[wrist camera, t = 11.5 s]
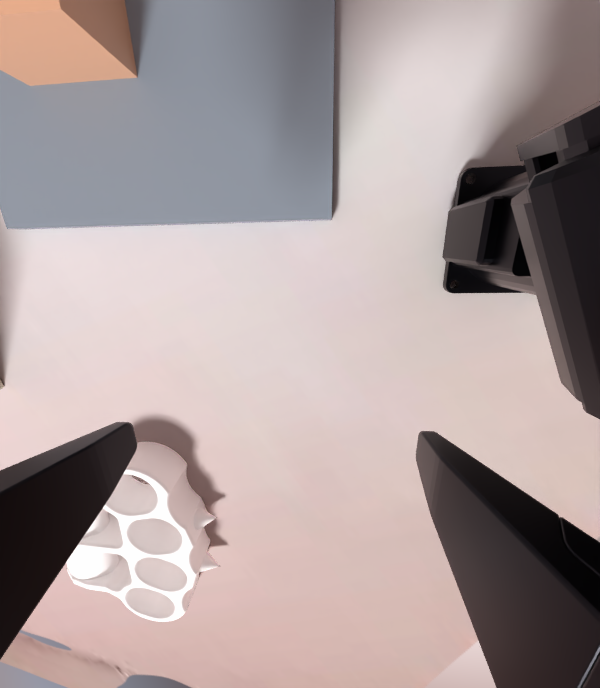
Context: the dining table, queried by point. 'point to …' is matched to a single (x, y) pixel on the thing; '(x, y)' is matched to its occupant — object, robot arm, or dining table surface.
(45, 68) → the orange block
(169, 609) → the white egg tray
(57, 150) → the base plate
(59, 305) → the dining table surface
